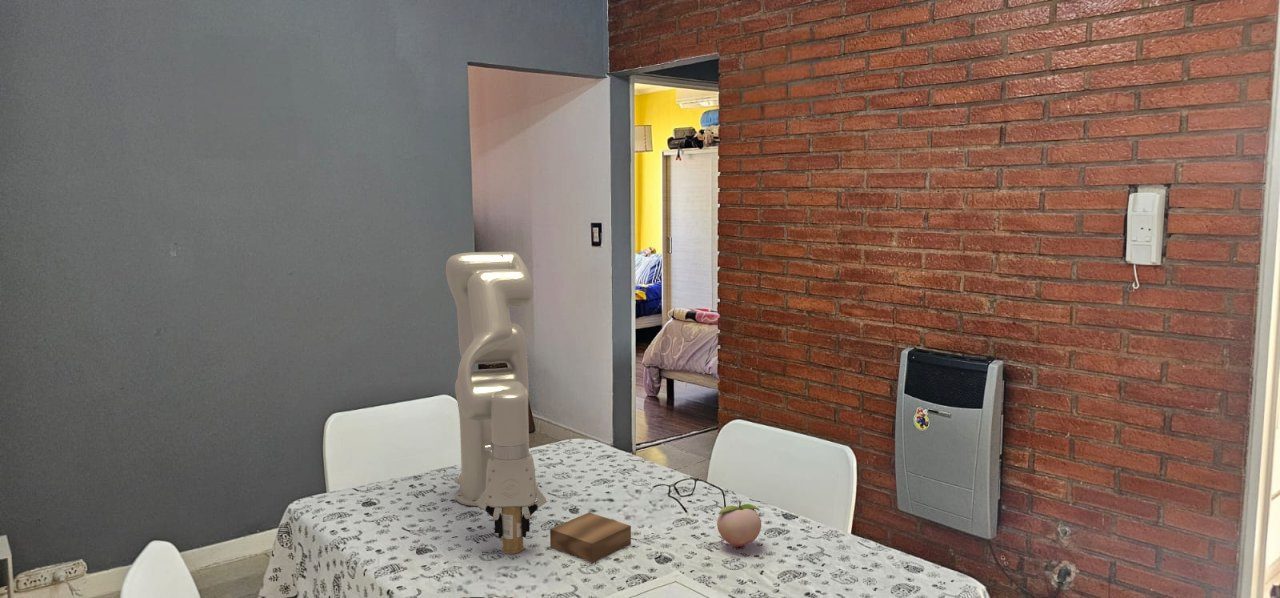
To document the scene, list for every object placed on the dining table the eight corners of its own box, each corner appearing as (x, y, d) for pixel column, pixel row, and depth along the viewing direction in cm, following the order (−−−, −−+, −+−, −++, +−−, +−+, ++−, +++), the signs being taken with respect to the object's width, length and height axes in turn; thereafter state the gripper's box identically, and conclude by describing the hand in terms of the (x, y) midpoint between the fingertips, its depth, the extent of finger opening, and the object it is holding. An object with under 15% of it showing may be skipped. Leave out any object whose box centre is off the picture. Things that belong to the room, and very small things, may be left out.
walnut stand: (550, 547, 178) (550, 528, 177) (589, 529, 187) (589, 512, 186) (592, 562, 170) (592, 543, 170) (630, 543, 179) (630, 525, 179)
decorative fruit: (732, 559, 171) (733, 512, 170) (710, 545, 179) (711, 499, 177) (770, 550, 176) (771, 504, 174) (747, 536, 183) (748, 492, 182)
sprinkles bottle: (527, 551, 176) (526, 488, 174) (507, 556, 173) (505, 493, 171) (517, 543, 179) (516, 482, 178) (498, 548, 177) (496, 486, 175)
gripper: (466, 457, 169) (469, 544, 171) (551, 454, 171) (553, 541, 173) (470, 446, 177) (473, 530, 179) (552, 443, 178) (553, 526, 180)
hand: (512, 534), depth 176 cm, fingers closed on sprinkles bottle, 4 cm apart
